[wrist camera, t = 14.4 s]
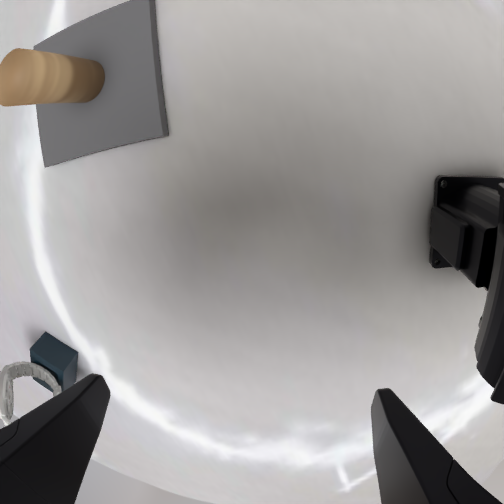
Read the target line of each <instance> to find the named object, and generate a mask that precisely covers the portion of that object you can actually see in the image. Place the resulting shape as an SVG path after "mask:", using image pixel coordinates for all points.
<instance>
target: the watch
mask: <svg viewBox="0 0 504 504" xmlns="http://www.w3.org/2000/svg"><path fill="white" fill-rule="evenodd" d="M30 357H31V362H16V363H13V364H10V365H6V366H5V367H4V368H3V369H2V371H0V419H3V422H4V424H5V426H7V425H9V424H11V423H12V422H9V420H10V419H11V417H12V414H13V381H12V380H13V379H15V378H16V377H17V378H18V377H22V376H30V374H31V376H32V377H33V379H34V380H35V381H37V382H38V383H39V384H41V385H42V386H44V387H45V388H47V389H48V390H50V391H51V392H53V396H54V397H55V396H56V395H58V394H59V393H61V392H63V391H64V390H66V389H67V388H69V387H71V386H72V385H74V383H75V382H76V372H77V359H78V352H77V351H75V350H74V349H72V348H70V347H69V346H67V345H65V344H64V343H62V342H61V341H59V340H58V339H56V338H55V337H53V336H51V335H50V334H48V333H47V332H45V333H44V334H43V335H42V336H41V337H40V338H39V339H38V340H37V342H36V343H35V344H34V345H33V346H32V347H31V348H30ZM24 367H25V369H24Z"/></svg>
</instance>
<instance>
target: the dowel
mask: <svg viewBox="0 0 504 504" xmlns="http://www.w3.org/2000/svg"><path fill="white" fill-rule="evenodd" d="M104 79H105V74H104V69H103V67H102V65H101V64H100V63H99V62H97V61H94V60H89V59H85V58H80V57H74V56H69V55H63V54H57V53H51V52H44V51H37V50H29V49H20V48H18V49H14V50H12V51H11V52H10V53H8V54H7V55H6V57H5V58H4V59H3V61H2V62H1V64H0V104H1V105H2V106H18V105H31V104H49V103H86V102H89V101H91V100H93V99H94V98H95V97H96V96H97V95H98V94H99V93H100V91H101V89H102V87H103V84H104Z"/></svg>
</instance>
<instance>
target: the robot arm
mask: <svg viewBox="0 0 504 504" xmlns="http://www.w3.org/2000/svg"><path fill="white" fill-rule="evenodd" d="M443 180H444V185H443V186H442V187H441V182H442V181H443ZM501 182H502V183H501ZM430 244H431V252H430V264H431V265H432V267H434V268H445V267H454V268H455V269H456V270H457V271H459V270H460V271H461V272H462V273H463V274H464V275H465V276H466V277H467V278H468V279H469V280H470V281H471V282H472V283H473V284H474V285H475V286H476V287H477V288H480V287H484V288H485V289H486V290H487V291H488V293H487V298H486V303H485V307H484V311H483V315H482V317H481V318H480V322H479V331H478V335H477V339H476V343H475V352H476V358H477V361H478V363H477V369H478V371H479V372H480V374H481V376H482V377H483V378H484V379H485V380H486V381H487V382H488V383H489V384H490V385H491V386H492V387H493V388H495V389H494V391H493V393H492V395H491V400H492V401H494V402H497V403H500V404H504V178H501V177H486V176H443V175H441V176H438V177H437V178H436V180H435V198H434V207H433V209H432V217H431V231H430ZM436 259H438V261H437V262H436V263H435V260H436ZM109 399H110V390H109V388H108V386H107V384H106V382H105V380H104V378H103V376H101V375H98V374H90V375H88V376H86V377H85V378H83V379H82V380H80V381H79V382H77V383H75V384H74V385H72V386H71V387H69V388H67V389H66V390H64V391H63V392H61V393H59V394H58V395H56V396H55V397H53V398H51V399H50V400H48V401H47V402H45V403H43V404H42V405H40V406H39V407H37V408H35V409H34V410H32V411H30V412H29V413H27V414H26V415H24V416H22V417H21V418H20V419H18V420H16V421H14V422H13V423H11V424H9V425H7V426H6V427H4V428H2V429H0V504H74V503H75V500H76V497H77V494H78V491H79V488H80V486H81V483H82V480H83V477H84V474H85V471H86V469H87V466H88V463H89V460H90V458H91V455H92V452H93V450H94V447H95V444H96V442H97V439H98V437H99V434H100V431H101V428H102V424H103V421H104V417H105V413H106V410H107V406H108V403H109ZM371 418H372V433H373V450H374V459H375V465H376V471H377V477H378V483H379V489H380V496H381V503H382V504H502V503H501V502H500V501H499V500H498V499H496V498H495V497H494V496H492V495H491V494H490V493H489V492H488V491H487V490H485V489H484V488H483V487H482V486H481V485H480V484H479V483H477V482H476V481H475V480H474V479H473V478H472V477H471V476H470V475H469V474H468V473H467V472H466V471H465V470H464V469H463V468H462V467H461V466H460V465H459V464H458V462H457V461H456V460H453V457H452V456H451V455H450V454H449V453H448V452H447V450H446V449H445V448H444V447H443V446H442V445H441V444H440V443H439V442H438V440H437V439H436V438H435V437H434V436H433V435H432V434H431V433H430V432H429V431H428V429H427V428H426V427H425V426H424V425H423V424H422V423H421V422H420V421H419V420H418V418H417V417H416V416H415V415H414V414H413V413H412V412H411V411H410V410H409V409H408V408H407V406H406V405H405V404H404V403H403V402H402V401H401V400H400V399H399V398H398V397H397V396H396V394H395V393H394V392H393V391H392V390H391V389H389V388H384V389H378V390H377V391H376V392H375V396H374V399H373V402H372V406H371Z"/></svg>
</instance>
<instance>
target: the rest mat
mask: <svg viewBox="0 0 504 504" xmlns="http://www.w3.org/2000/svg"><path fill="white" fill-rule="evenodd" d="M34 50H37V51H44V52H51V53H57V54H63V55H69V56H74V57H80V58H85V59H89V60H94V61H97V62H99V63H100V64H101V65H102V67H103V69H104V74H105V79H104V84H103V87H102V89H101V91H100V93H99V94H98V95H97V96H96V97H95V98H94V99H93V100H91V101H89V102H86V103H49V104H36V109H37V119H38V127H39V135H40V142H41V149H42V155H43V161H44V166H45V167H49V166H52V165H55V164H58V163H62V162H65V161H68V160H71V159H75V158H78V157H81V156H85V155H88V154H92V153H95V152H99V151H103V150H107V149H110V148H114V147H118V146H122V145H127V144H131V143H135V142H139V141H144V140H148V139H153V138H158V137H163V136H168V135H169V133H168V126H167V119H166V111H165V104H164V96H163V87H162V79H161V70H160V60H159V50H158V39H157V27H156V14H155V0H130V1H127V2H125V3H122V4H119V5H117V6H114V7H112V8H109V9H107V10H104V11H102V12H100V13H97V14H95V15H93V16H91V17H88V18H86V19H84V20H82V21H80V22H78V23H76V24H74V25H72V26H70V27H68V28H66V29H64V30H62V31H60V32H58V33H56V34H55V35H53V36H51V37H49V38H47V39H46V40H44V41H42V42H41V43H39V44H37V45H35V46H34Z"/></svg>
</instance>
